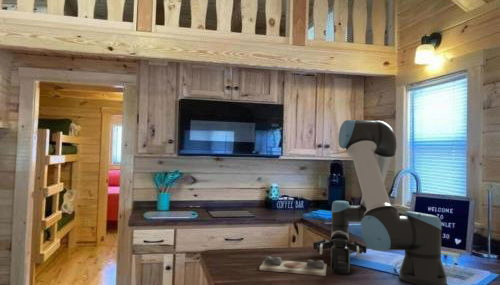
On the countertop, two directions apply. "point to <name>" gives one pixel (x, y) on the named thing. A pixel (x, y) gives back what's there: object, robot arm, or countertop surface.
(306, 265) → the cream base tray
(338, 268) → the supplement bottle
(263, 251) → the countertop surface
